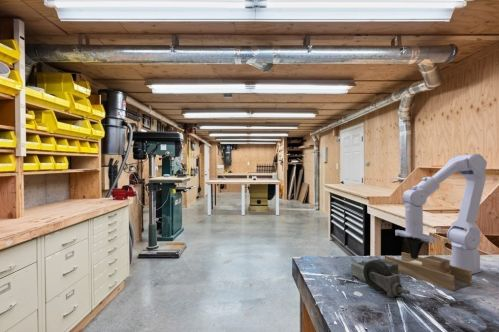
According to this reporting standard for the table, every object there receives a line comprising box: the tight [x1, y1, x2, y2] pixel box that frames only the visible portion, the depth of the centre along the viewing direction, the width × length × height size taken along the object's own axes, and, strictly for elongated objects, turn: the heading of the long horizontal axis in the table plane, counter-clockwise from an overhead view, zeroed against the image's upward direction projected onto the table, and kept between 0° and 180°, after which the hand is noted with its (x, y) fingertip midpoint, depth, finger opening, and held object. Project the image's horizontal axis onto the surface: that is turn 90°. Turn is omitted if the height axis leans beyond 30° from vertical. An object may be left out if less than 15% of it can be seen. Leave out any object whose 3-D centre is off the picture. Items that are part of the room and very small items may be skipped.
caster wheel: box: [363, 259, 410, 298], centre depth 92 cm, size 6×10×15 cm
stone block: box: [350, 258, 399, 284], centre depth 106 cm, size 9×14×5 cm, turn 109°
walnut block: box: [422, 255, 451, 273], centre depth 103 cm, size 6×6×4 cm
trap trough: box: [384, 252, 473, 292], centre depth 107 cm, size 11×25×4 cm, turn 27°
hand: (414, 258), depth 110 cm, fingers closed
